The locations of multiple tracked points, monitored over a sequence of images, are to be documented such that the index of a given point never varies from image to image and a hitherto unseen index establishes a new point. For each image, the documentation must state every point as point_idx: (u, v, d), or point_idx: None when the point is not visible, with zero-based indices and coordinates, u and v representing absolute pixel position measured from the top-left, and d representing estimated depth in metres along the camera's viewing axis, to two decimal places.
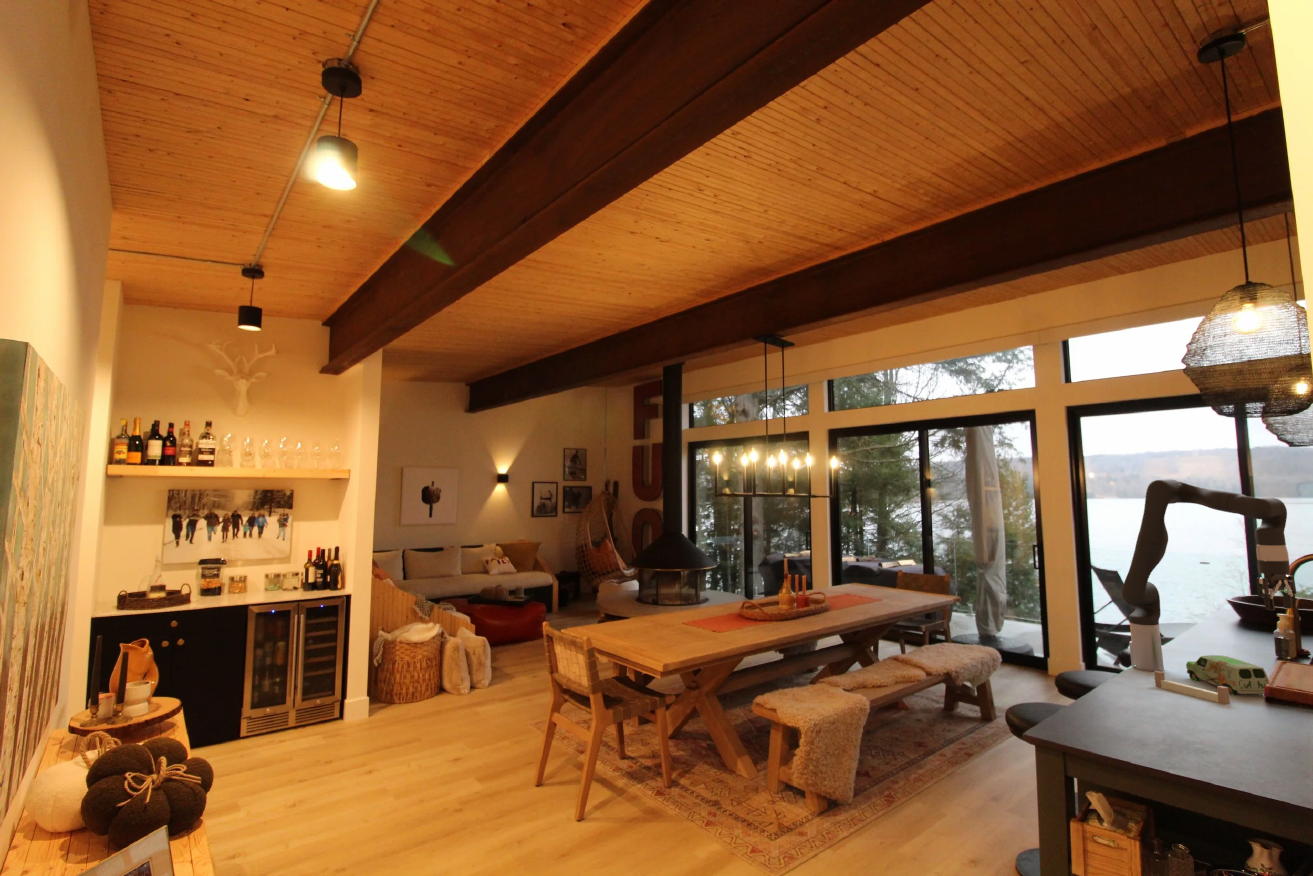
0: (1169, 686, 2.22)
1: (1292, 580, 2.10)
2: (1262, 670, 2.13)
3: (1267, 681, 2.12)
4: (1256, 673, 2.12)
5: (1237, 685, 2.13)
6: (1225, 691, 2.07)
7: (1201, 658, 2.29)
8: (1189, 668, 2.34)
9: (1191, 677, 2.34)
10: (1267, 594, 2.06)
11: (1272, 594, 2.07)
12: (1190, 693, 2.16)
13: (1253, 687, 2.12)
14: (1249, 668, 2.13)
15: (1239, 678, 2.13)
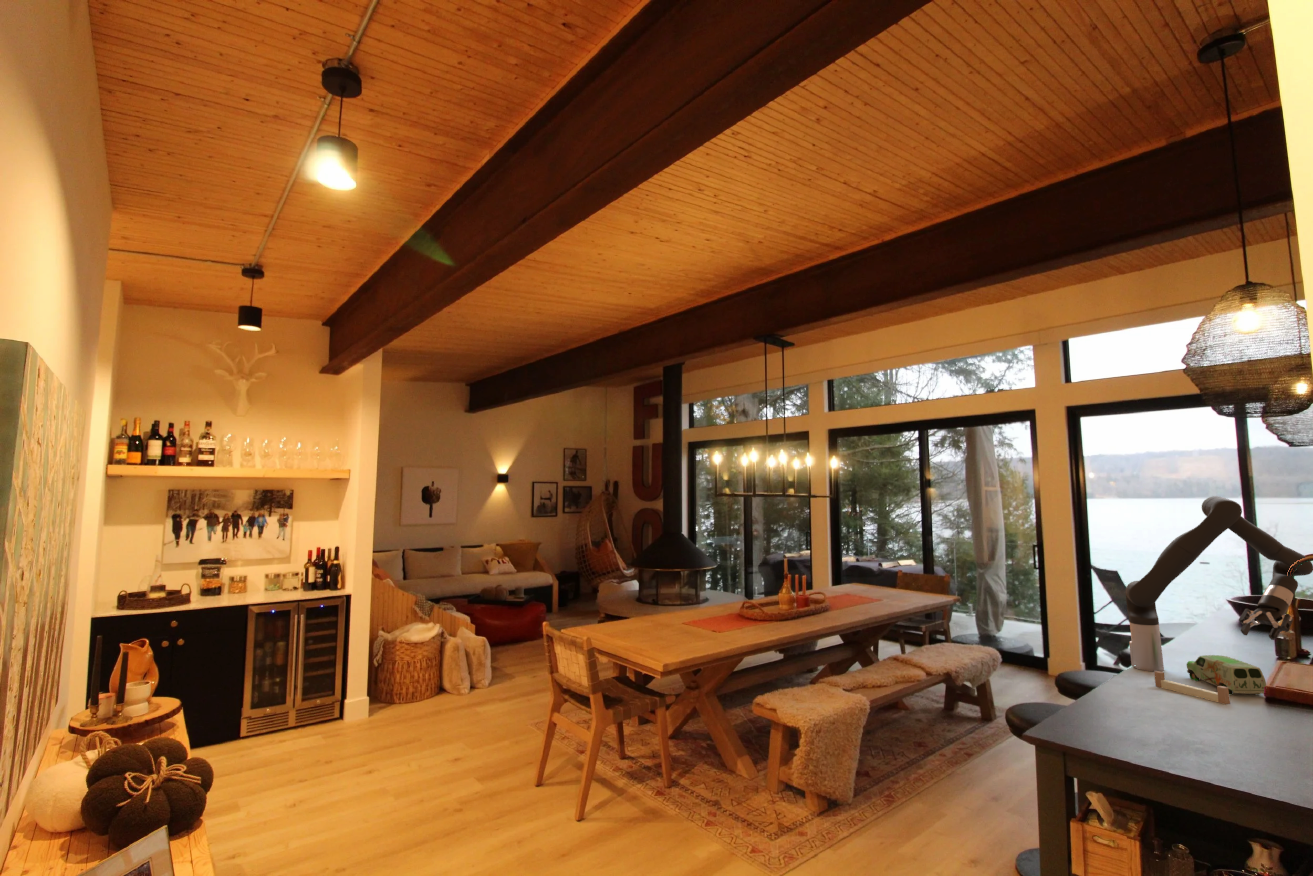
0: (1169, 686, 2.22)
1: None
2: (1258, 670, 2.13)
3: (1263, 681, 2.12)
4: (1251, 673, 2.13)
5: (1232, 684, 2.13)
6: (1225, 691, 2.07)
7: (1200, 658, 2.29)
8: (1189, 668, 2.34)
9: (1191, 677, 2.34)
10: None
11: None
12: (1190, 693, 2.16)
13: (1249, 687, 2.12)
14: (1245, 668, 2.14)
15: (1234, 677, 2.13)
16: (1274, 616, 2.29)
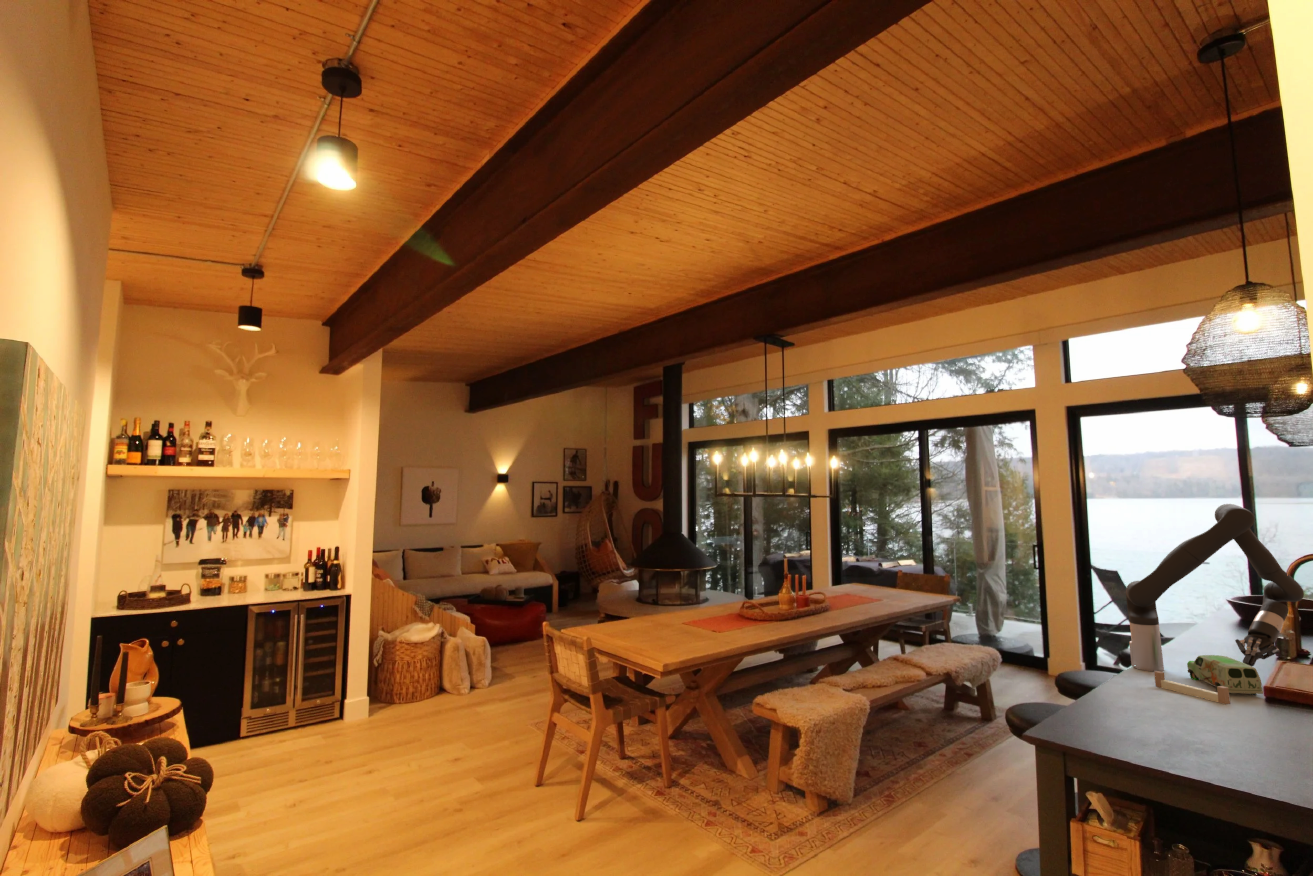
0: (1169, 686, 2.22)
1: None
2: (1254, 670, 2.13)
3: (1259, 681, 2.12)
4: (1246, 673, 2.13)
5: (1226, 684, 2.14)
6: (1225, 691, 2.07)
7: (1199, 657, 2.30)
8: (1189, 667, 2.35)
9: (1191, 676, 2.35)
10: None
11: None
12: (1190, 693, 2.16)
13: (1243, 686, 2.12)
14: (1240, 668, 2.14)
15: (1228, 677, 2.14)
16: (1262, 645, 2.27)
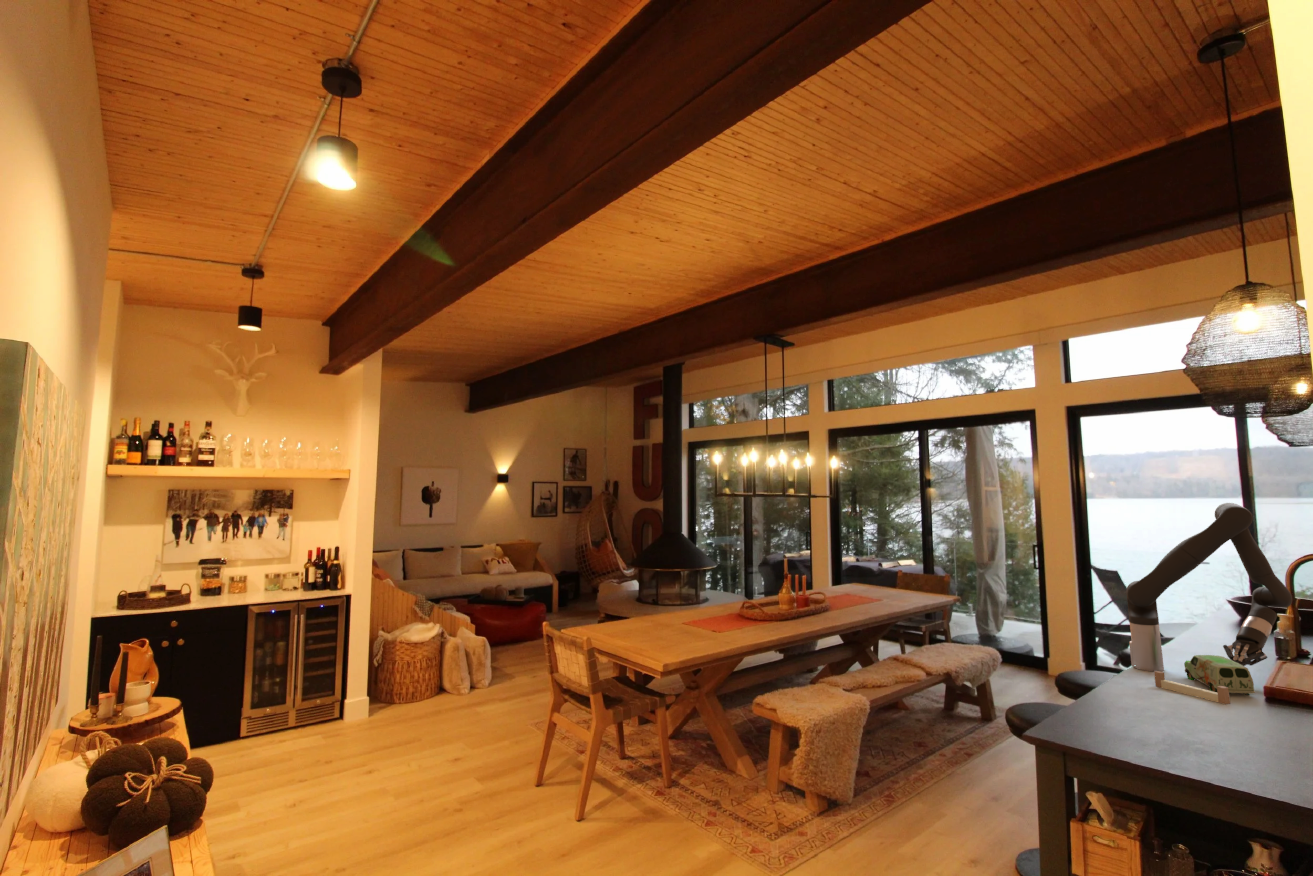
0: (1169, 686, 2.22)
1: None
2: (1246, 670, 2.13)
3: (1250, 681, 2.12)
4: (1238, 673, 2.13)
5: (1217, 683, 2.15)
6: (1225, 691, 2.07)
7: (1194, 657, 2.30)
8: (1186, 667, 2.35)
9: (1188, 676, 2.35)
10: None
11: None
12: (1190, 693, 2.16)
13: (1235, 686, 2.13)
14: (1231, 667, 2.14)
15: (1219, 676, 2.15)
16: (1250, 651, 2.25)
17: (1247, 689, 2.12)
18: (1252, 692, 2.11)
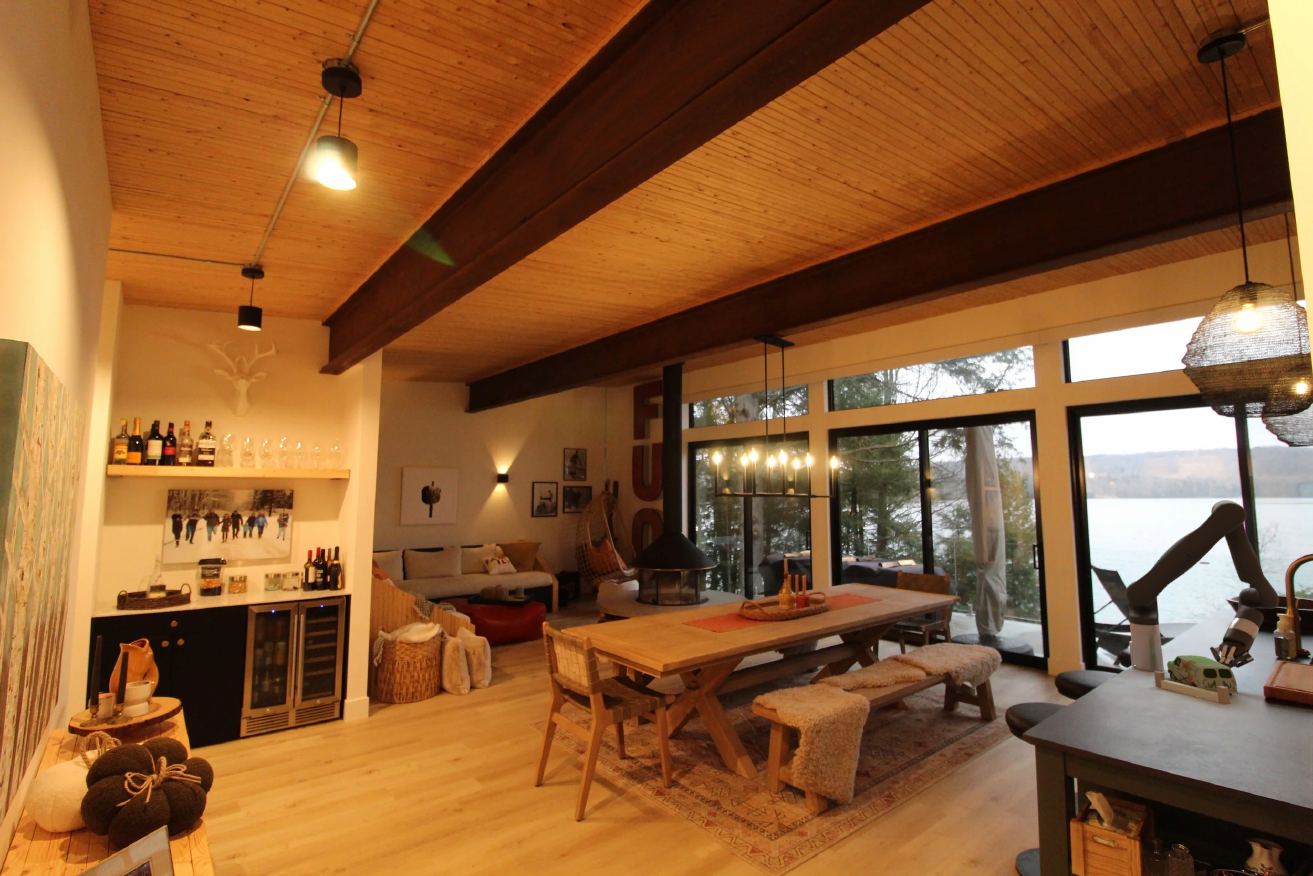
0: (1169, 686, 2.22)
1: None
2: (1229, 670, 2.13)
3: (1234, 681, 2.12)
4: (1222, 673, 2.14)
5: (1201, 684, 2.15)
6: (1225, 691, 2.07)
7: (1177, 658, 2.31)
8: (1169, 667, 2.36)
9: (1171, 676, 2.35)
10: None
11: None
12: (1190, 693, 2.16)
13: None
14: (1215, 668, 2.15)
15: (1203, 677, 2.15)
16: (1236, 653, 2.23)
17: (1230, 689, 2.12)
18: (1235, 692, 2.12)
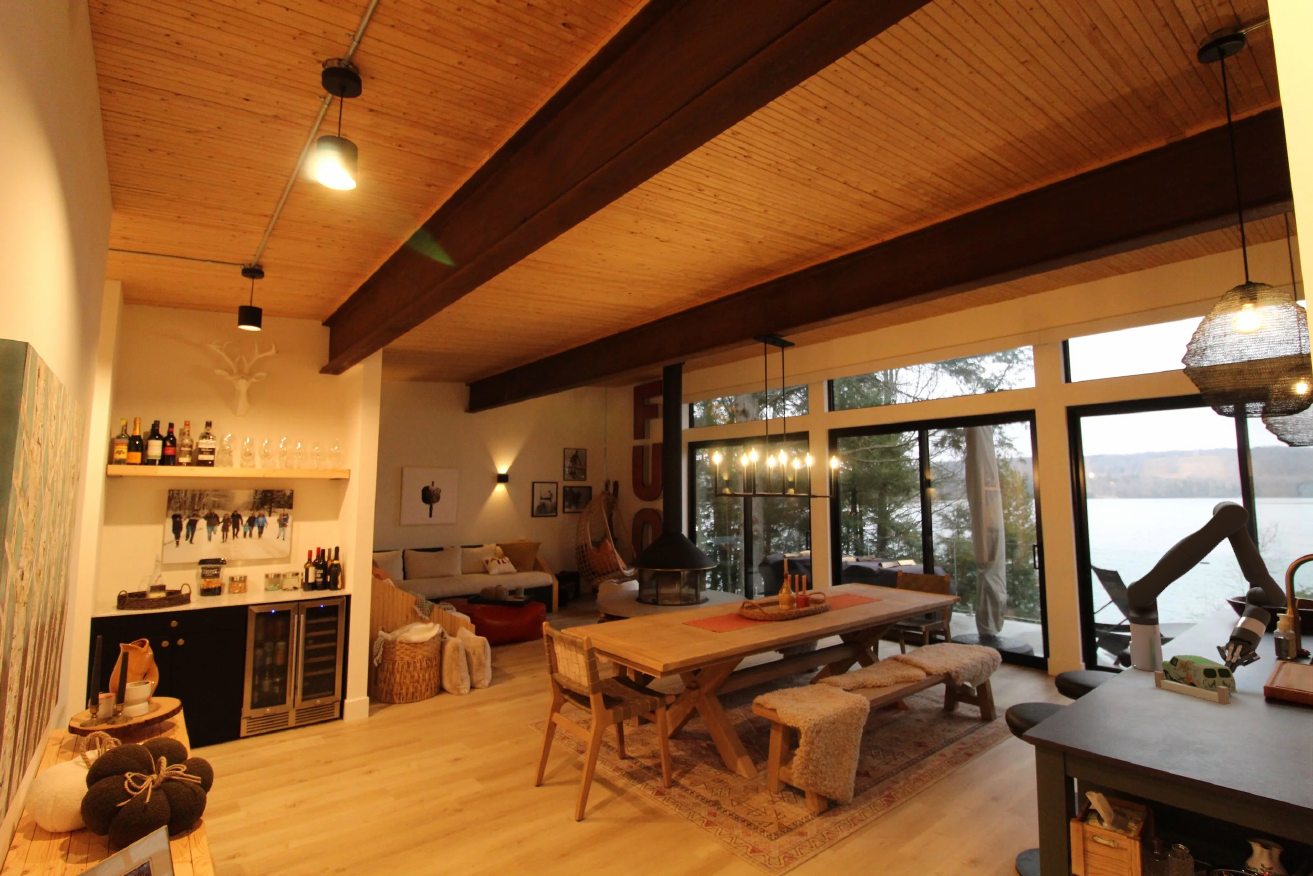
0: (1169, 686, 2.22)
1: None
2: (1228, 670, 2.14)
3: (1233, 681, 2.13)
4: (1221, 673, 2.14)
5: (1201, 684, 2.15)
6: (1225, 691, 2.07)
7: (1173, 657, 2.31)
8: (1164, 667, 2.36)
9: (1166, 676, 2.36)
10: None
11: None
12: (1190, 693, 2.16)
13: None
14: (1214, 668, 2.15)
15: (1203, 677, 2.15)
16: (1243, 651, 2.24)
17: (1229, 689, 2.13)
18: (1234, 692, 2.12)
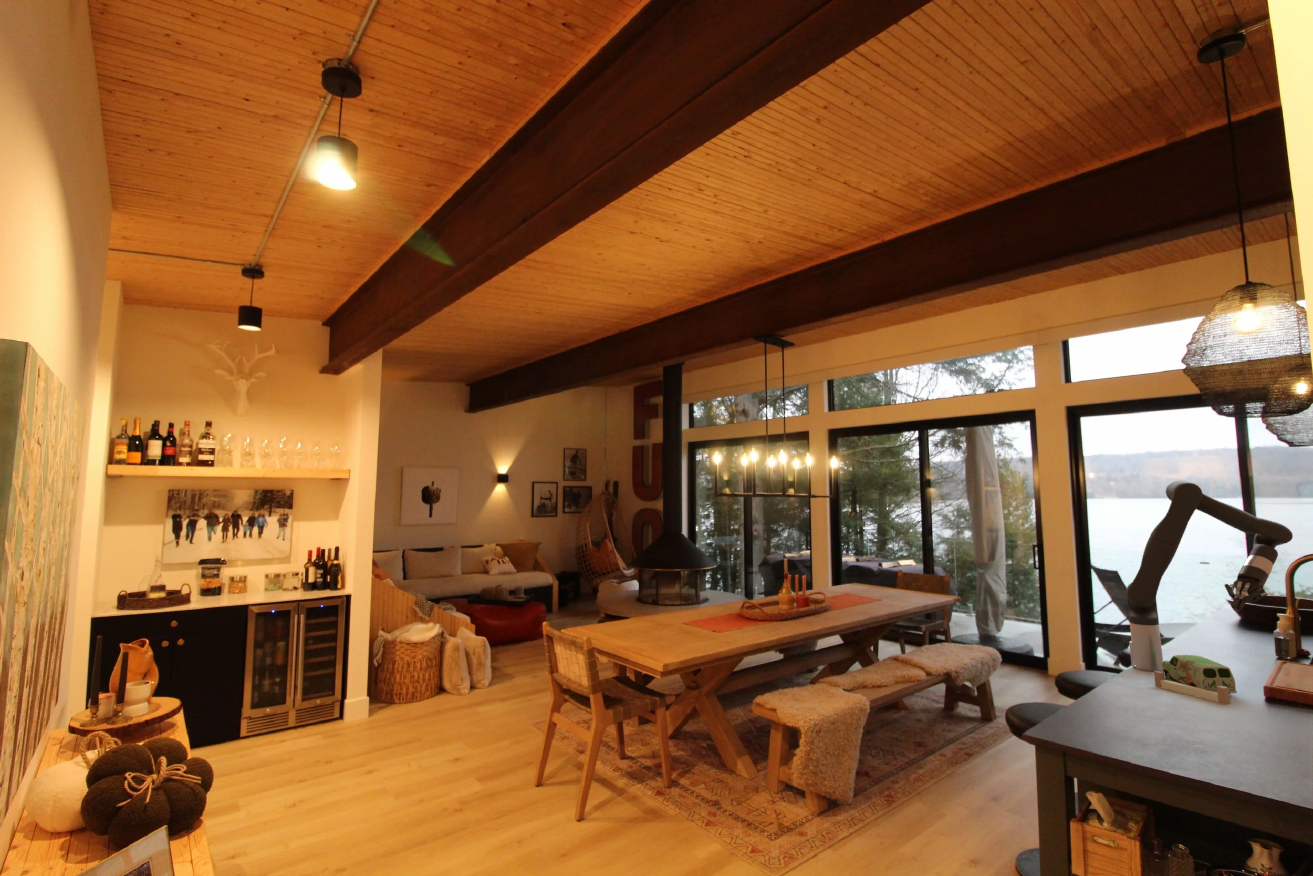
0: (1169, 686, 2.22)
1: None
2: (1228, 670, 2.14)
3: (1232, 681, 2.13)
4: (1221, 673, 2.14)
5: (1201, 684, 2.15)
6: (1225, 691, 2.07)
7: (1173, 657, 2.31)
8: (1164, 667, 2.36)
9: (1166, 676, 2.36)
10: None
11: None
12: (1190, 693, 2.16)
13: None
14: (1214, 668, 2.15)
15: (1203, 677, 2.15)
16: (1251, 588, 2.29)
17: (1229, 689, 2.13)
18: (1234, 692, 2.12)
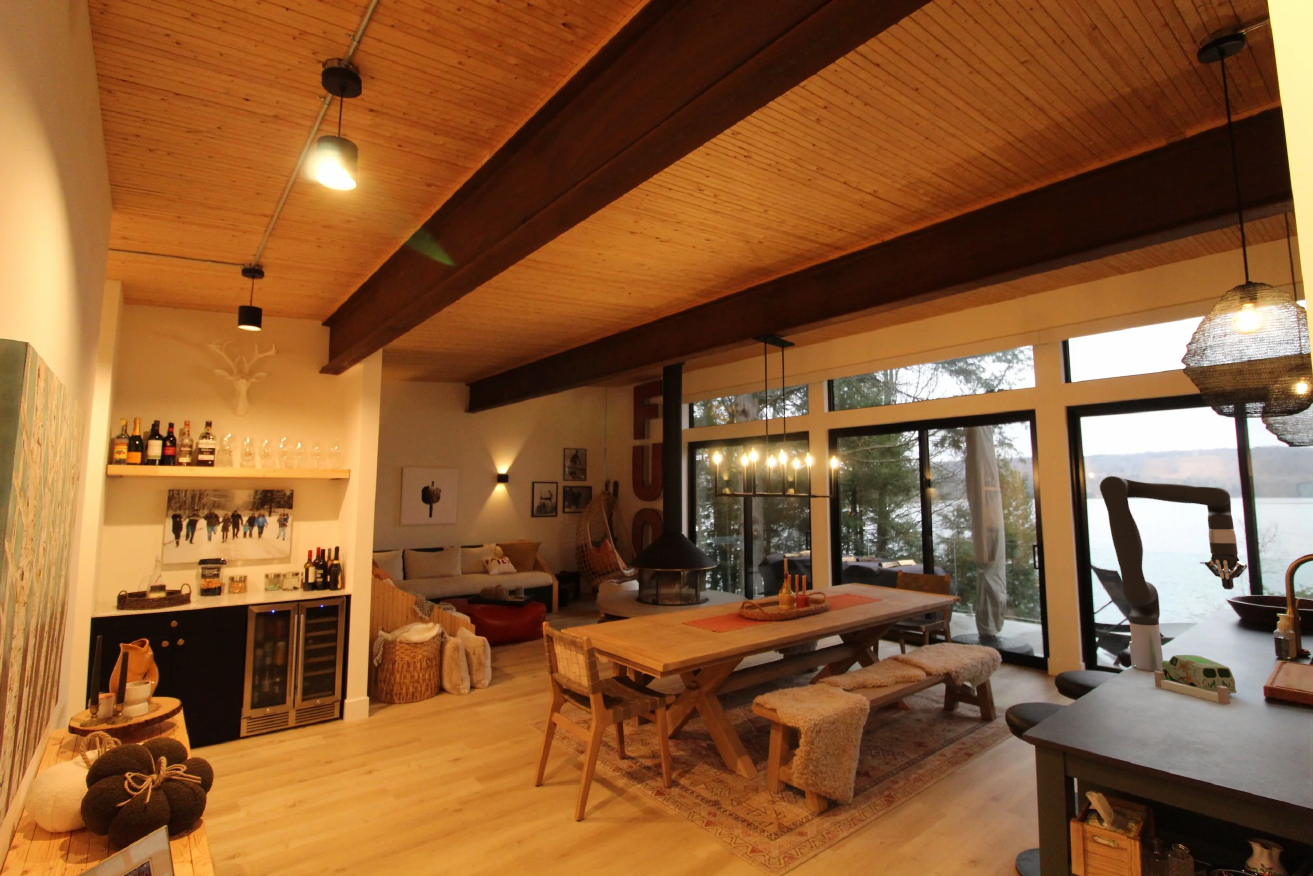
0: (1169, 686, 2.22)
1: None
2: (1228, 670, 2.14)
3: (1232, 681, 2.13)
4: (1221, 673, 2.14)
5: (1201, 684, 2.15)
6: (1225, 691, 2.07)
7: (1173, 657, 2.31)
8: (1164, 667, 2.36)
9: (1166, 676, 2.36)
10: None
11: None
12: (1190, 693, 2.16)
13: None
14: (1214, 667, 2.15)
15: (1203, 677, 2.15)
16: (1230, 565, 2.33)
17: (1229, 689, 2.13)
18: (1234, 692, 2.13)
